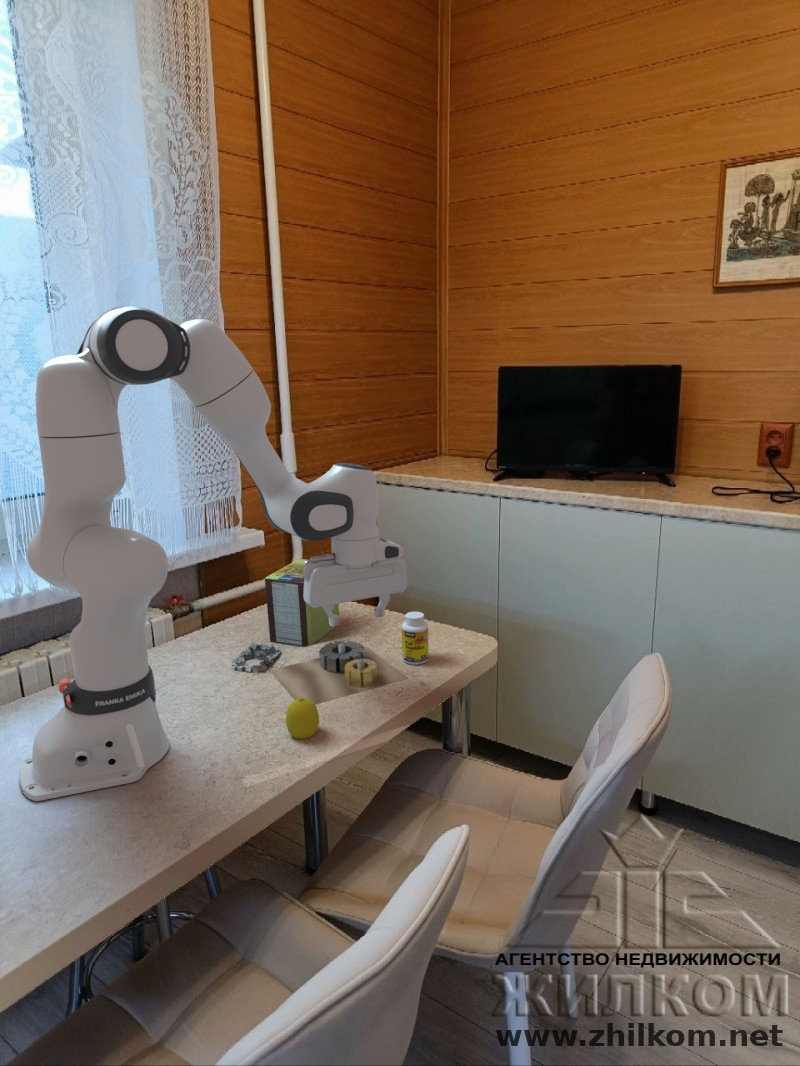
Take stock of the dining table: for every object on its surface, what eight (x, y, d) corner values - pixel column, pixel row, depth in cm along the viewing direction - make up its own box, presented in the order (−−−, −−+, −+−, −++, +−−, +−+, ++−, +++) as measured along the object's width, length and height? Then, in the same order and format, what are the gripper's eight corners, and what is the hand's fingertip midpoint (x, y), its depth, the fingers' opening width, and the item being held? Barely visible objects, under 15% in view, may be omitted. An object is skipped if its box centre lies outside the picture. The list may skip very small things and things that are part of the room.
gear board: (302, 715, 127) (301, 687, 125) (269, 677, 142) (267, 652, 141) (408, 684, 137) (407, 659, 136) (366, 652, 152) (365, 628, 151)
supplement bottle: (401, 665, 146) (400, 619, 143) (403, 654, 151) (402, 609, 148) (428, 666, 145) (427, 619, 143) (429, 654, 150) (428, 609, 148)
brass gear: (354, 689, 133) (353, 675, 132) (340, 677, 138) (340, 663, 137) (382, 681, 135) (381, 667, 135) (368, 670, 141) (367, 656, 140)
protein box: (340, 623, 169) (337, 561, 165) (308, 648, 156) (304, 582, 152) (302, 618, 173) (298, 558, 169) (268, 642, 159) (263, 577, 155)
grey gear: (331, 676, 138) (330, 663, 137) (313, 659, 146) (312, 646, 145) (372, 665, 142) (371, 652, 141) (352, 649, 150) (352, 637, 149)
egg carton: (262, 682, 141) (260, 663, 140) (229, 678, 143) (227, 659, 142) (285, 659, 151) (283, 641, 150) (253, 656, 153) (252, 638, 152)
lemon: (314, 750, 116) (311, 706, 113) (282, 747, 117) (279, 704, 115) (324, 733, 121) (322, 691, 119) (294, 730, 122) (291, 688, 120)
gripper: (309, 562, 122) (312, 636, 125) (411, 546, 132) (411, 616, 135) (296, 554, 128) (299, 625, 131) (395, 540, 137) (395, 607, 140)
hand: (357, 620), depth 133 cm, fingers open, 8 cm apart
